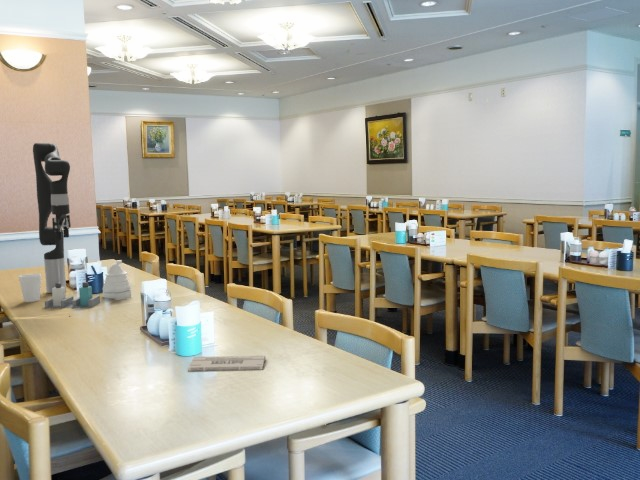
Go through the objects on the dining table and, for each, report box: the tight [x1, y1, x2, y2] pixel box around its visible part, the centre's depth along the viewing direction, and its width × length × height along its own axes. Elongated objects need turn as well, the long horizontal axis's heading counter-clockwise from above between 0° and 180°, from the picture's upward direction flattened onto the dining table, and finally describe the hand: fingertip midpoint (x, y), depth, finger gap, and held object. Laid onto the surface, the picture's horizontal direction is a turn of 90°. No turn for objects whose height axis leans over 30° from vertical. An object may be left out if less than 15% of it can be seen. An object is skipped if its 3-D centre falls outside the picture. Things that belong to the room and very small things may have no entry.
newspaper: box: [187, 355, 266, 373], centre depth 174 cm, size 23×12×2 cm, turn 91°
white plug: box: [51, 283, 67, 306], centre depth 257 cm, size 4×4×10 cm
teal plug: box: [78, 281, 93, 306], centre depth 257 cm, size 4×4×10 cm
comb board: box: [42, 295, 102, 309], centre depth 258 cm, size 12×22×4 cm, turn 91°
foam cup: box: [18, 273, 42, 303], centre depth 269 cm, size 10×9×13 cm
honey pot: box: [102, 259, 132, 301], centre depth 277 cm, size 13×13×18 cm
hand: (62, 238), depth 268 cm, fingers open, 8 cm apart
